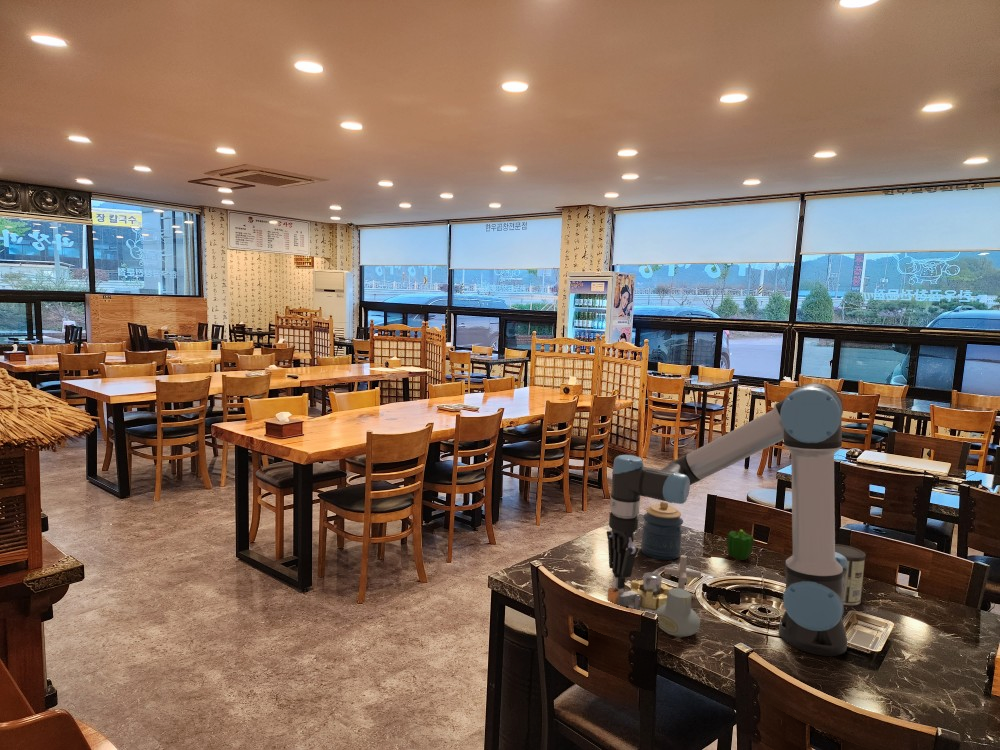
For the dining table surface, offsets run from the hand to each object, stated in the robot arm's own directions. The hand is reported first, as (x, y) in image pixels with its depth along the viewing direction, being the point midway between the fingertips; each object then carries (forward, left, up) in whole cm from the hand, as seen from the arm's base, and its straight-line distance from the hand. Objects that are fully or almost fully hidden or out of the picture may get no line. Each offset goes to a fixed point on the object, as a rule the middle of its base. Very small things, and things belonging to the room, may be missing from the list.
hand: (617, 597), depth 165 cm
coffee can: (-27, -62, -3) cm, 68 cm away
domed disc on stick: (-3, -5, -1) cm, 6 cm away
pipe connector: (-1, -24, -3) cm, 24 cm away
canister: (+21, -40, -3) cm, 45 cm away
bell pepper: (+6, -61, -3) cm, 62 cm away
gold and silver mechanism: (-3, -6, -3) cm, 7 cm away
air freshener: (-17, -4, -3) cm, 17 cm away
